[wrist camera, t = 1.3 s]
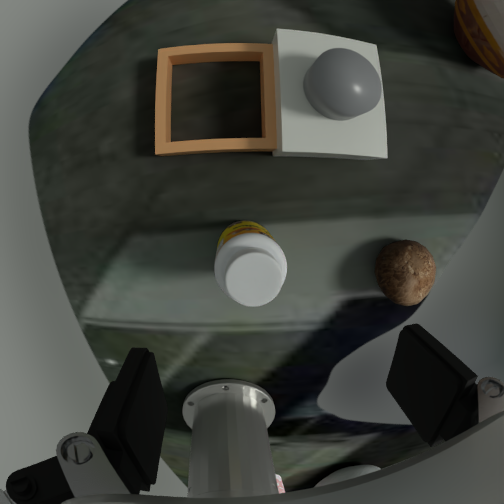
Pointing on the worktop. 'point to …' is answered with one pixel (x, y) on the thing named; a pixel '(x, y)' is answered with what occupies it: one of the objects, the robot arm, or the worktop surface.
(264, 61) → the open box with knob
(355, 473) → the cereal bowl
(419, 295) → the mushroom
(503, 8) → the jug
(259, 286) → the supplement bottle
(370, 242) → the worktop surface
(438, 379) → the robot arm
